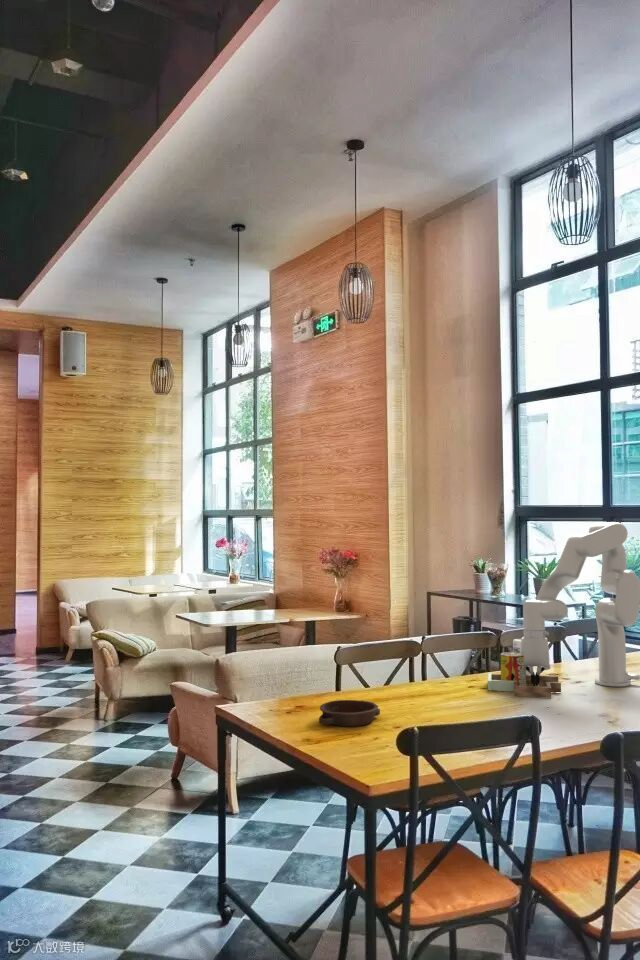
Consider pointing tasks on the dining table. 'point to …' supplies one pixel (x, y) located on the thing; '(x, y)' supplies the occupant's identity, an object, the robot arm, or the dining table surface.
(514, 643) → the syrup box
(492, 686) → the end bay
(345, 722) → the dish
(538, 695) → the open walled frame
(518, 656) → the beverage can
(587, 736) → the dining table surface
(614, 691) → the dining table surface
